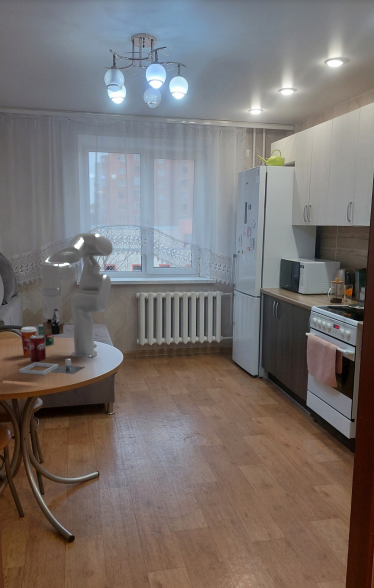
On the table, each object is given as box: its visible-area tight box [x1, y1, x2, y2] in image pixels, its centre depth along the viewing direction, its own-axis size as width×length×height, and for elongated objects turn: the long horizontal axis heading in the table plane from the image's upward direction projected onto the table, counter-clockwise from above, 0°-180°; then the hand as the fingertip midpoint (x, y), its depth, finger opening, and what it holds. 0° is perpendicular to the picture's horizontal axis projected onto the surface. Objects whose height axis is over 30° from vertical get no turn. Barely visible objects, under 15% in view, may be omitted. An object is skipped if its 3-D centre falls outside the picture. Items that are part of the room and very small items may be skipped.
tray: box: [18, 362, 60, 376], centre depth 208 cm, size 12×12×2 cm
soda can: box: [29, 334, 47, 364], centre depth 225 cm, size 7×7×12 cm
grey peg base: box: [50, 357, 86, 375], centre depth 208 cm, size 11×11×6 cm
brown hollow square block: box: [42, 321, 65, 335], centre depth 206 cm, size 7×8×4 cm
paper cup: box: [20, 326, 37, 358], centre depth 236 cm, size 8×8×14 cm
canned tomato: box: [37, 323, 55, 347], centre depth 259 cm, size 8×8×11 cm
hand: (53, 332), depth 206 cm, fingers closed on brown hollow square block, 6 cm apart
